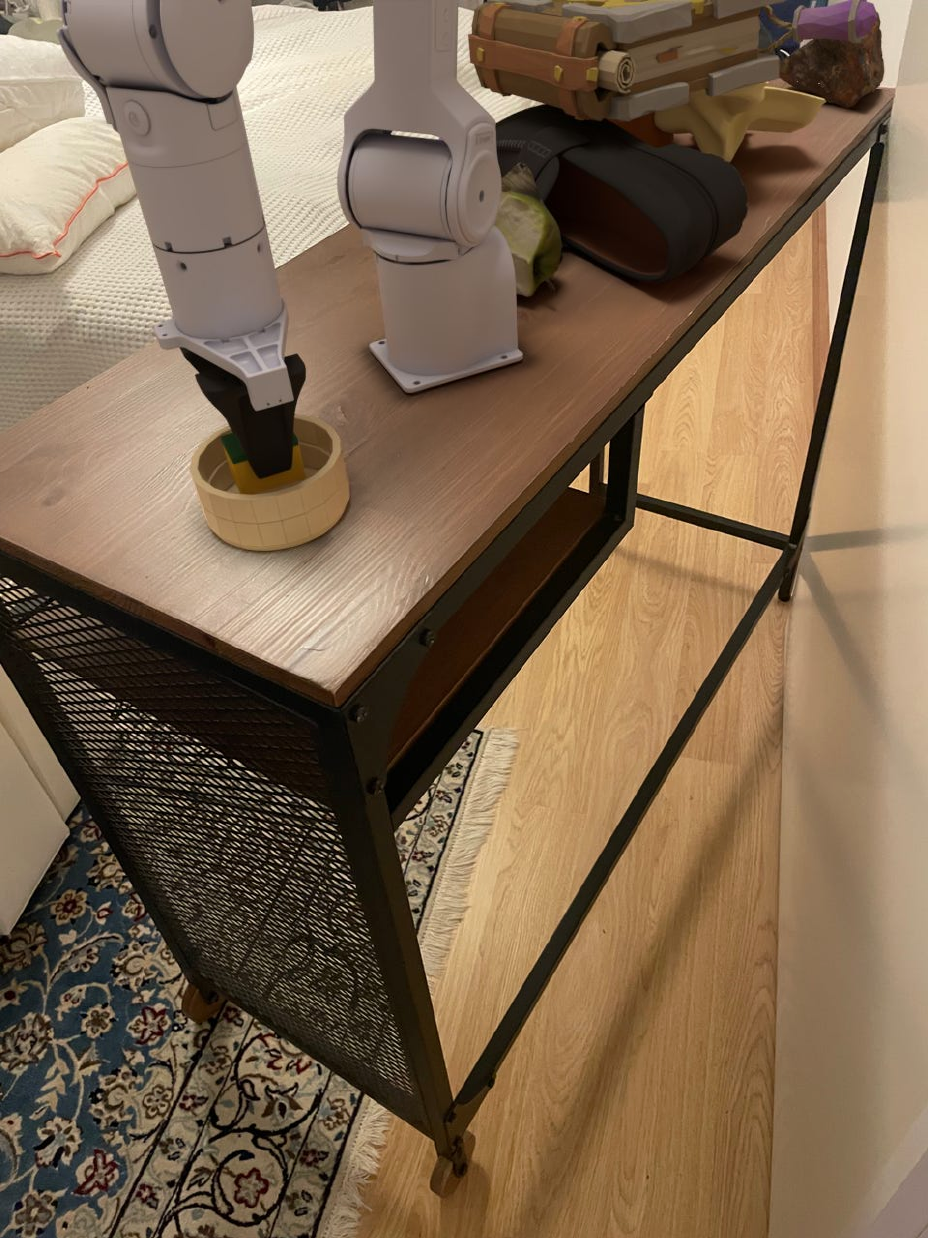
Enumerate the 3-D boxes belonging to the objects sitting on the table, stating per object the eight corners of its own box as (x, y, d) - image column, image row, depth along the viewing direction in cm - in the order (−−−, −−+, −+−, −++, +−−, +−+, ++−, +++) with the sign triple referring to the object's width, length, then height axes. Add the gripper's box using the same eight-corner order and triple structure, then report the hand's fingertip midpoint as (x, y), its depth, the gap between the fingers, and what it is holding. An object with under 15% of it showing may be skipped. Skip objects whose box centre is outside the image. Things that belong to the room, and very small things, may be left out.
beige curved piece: (724, 61, 80) (711, 141, 82) (866, 103, 90) (852, 174, 92) (571, 95, 99) (563, 160, 100) (703, 127, 108) (694, 186, 110)
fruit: (599, 215, 76) (570, 286, 73) (532, 272, 84) (504, 338, 81) (511, 137, 73) (477, 208, 69) (450, 205, 80) (417, 271, 77)
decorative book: (632, 155, 71) (633, -11, 64) (458, 95, 89) (443, -39, 82) (877, 74, 79) (901, -82, 71) (671, 34, 97) (674, -94, 89)
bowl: (324, 451, 64) (313, 398, 61) (371, 523, 57) (361, 469, 55) (193, 491, 61) (175, 438, 58) (227, 571, 55) (210, 517, 52)
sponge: (293, 457, 59) (284, 417, 57) (306, 478, 57) (297, 437, 55) (231, 476, 58) (220, 436, 56) (242, 498, 56) (231, 457, 54)
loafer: (497, 81, 87) (402, 126, 82) (762, 152, 73) (670, 212, 68) (501, 186, 95) (415, 235, 89) (744, 269, 81) (659, 332, 75)
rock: (774, 109, 115) (842, 52, 114) (842, 163, 110) (915, 103, 108) (762, 17, 103) (839, -49, 102) (839, 72, 98) (921, 3, 96)
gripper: (105, 202, 51) (175, 419, 61) (158, 305, 41) (231, 545, 51) (231, 174, 53) (280, 390, 62) (310, 267, 43) (354, 505, 53)
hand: (266, 457), depth 57 cm, fingers closed on sponge, 2 cm apart
